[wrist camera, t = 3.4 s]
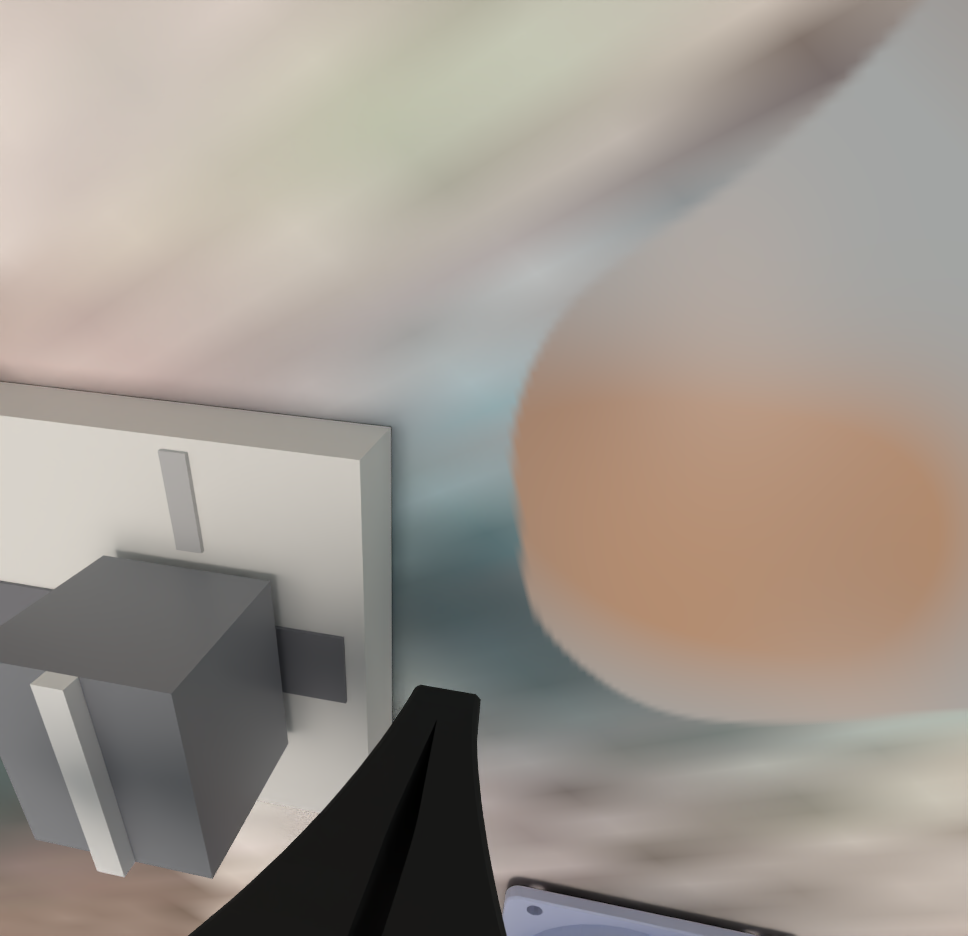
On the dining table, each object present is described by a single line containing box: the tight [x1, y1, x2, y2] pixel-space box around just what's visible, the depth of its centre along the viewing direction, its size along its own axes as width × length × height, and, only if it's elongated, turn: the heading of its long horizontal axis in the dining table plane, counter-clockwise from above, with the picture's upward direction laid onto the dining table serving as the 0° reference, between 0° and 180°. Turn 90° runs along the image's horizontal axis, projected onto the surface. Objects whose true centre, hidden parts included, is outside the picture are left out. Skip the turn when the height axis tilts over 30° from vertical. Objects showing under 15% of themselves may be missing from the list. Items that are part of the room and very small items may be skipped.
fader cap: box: [0, 555, 288, 879], centre depth 12 cm, size 4×5×4 cm
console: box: [0, 382, 392, 814], centre depth 15 cm, size 17×11×2 cm, turn 86°
